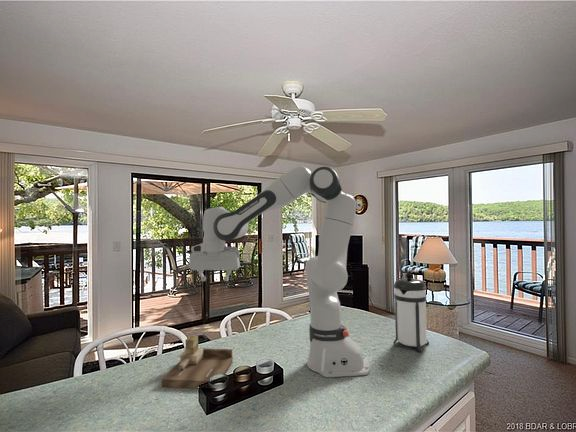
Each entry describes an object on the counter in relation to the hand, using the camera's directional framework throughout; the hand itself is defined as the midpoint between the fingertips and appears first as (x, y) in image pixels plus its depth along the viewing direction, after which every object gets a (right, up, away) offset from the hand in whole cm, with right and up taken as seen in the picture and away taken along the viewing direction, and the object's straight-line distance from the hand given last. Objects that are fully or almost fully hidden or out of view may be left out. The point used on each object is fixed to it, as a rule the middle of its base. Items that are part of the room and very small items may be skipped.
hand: (214, 281), depth 121 cm
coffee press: (+82, -28, +6) cm, 87 cm away
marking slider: (-6, -26, -15) cm, 30 cm away
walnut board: (-1, -29, -17) cm, 33 cm away
